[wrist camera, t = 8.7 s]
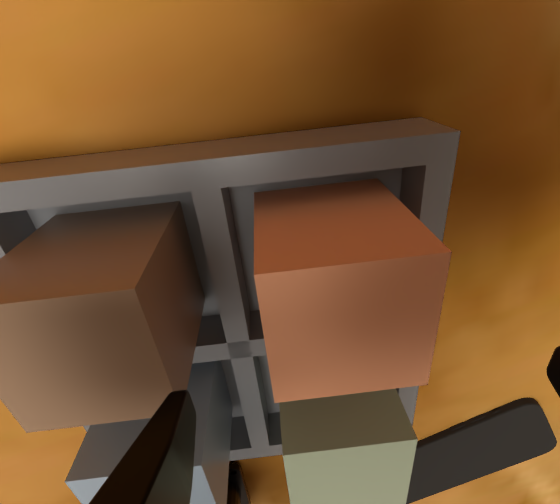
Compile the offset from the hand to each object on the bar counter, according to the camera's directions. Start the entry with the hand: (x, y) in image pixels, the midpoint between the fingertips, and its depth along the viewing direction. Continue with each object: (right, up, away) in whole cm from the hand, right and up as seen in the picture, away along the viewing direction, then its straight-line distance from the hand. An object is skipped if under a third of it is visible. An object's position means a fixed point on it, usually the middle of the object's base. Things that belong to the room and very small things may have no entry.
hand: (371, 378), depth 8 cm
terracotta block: (-1, +4, +7) cm, 8 cm away
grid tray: (-4, 0, +9) cm, 10 cm away
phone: (+11, -13, +19) cm, 25 cm away
